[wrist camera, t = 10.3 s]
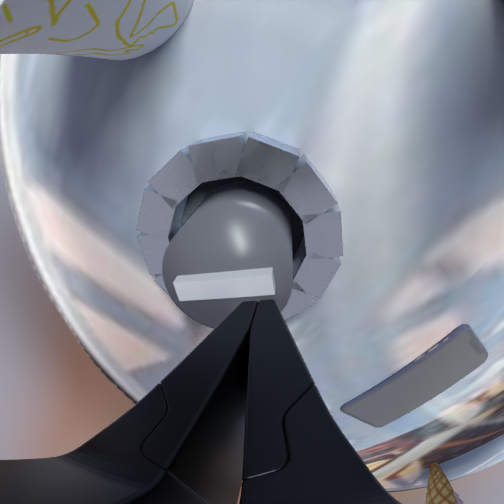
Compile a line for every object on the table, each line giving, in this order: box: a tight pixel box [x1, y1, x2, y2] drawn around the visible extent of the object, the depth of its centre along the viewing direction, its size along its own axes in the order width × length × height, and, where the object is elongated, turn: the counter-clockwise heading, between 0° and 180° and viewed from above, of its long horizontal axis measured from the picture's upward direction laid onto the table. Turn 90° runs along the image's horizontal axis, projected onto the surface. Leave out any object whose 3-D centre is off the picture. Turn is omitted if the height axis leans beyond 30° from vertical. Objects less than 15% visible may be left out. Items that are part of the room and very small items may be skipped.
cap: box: [162, 181, 293, 329], centre depth 16 cm, size 6×6×7 cm
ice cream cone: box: [426, 462, 463, 504], centre depth 28 cm, size 7×6×15 cm
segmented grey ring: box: [136, 132, 343, 320], centre depth 18 cm, size 12×12×2 cm
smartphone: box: [341, 324, 488, 427], centre depth 24 cm, size 8×1×15 cm
